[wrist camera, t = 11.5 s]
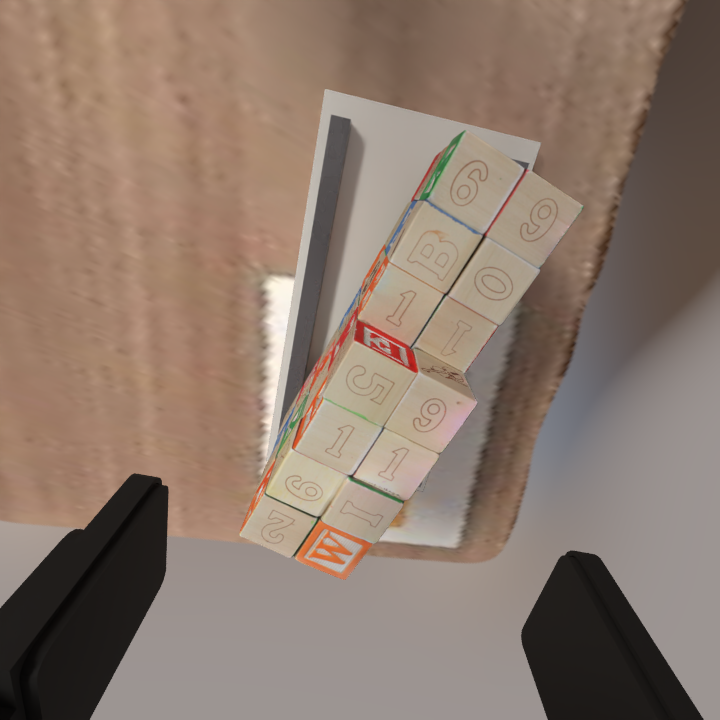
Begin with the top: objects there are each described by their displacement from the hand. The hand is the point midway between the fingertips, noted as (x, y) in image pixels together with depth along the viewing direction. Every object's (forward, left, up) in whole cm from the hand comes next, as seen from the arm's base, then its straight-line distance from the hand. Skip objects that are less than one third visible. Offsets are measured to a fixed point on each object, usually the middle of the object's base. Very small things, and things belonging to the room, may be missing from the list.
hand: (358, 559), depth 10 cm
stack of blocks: (0, +2, -21) cm, 21 cm away
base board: (+1, +1, -24) cm, 24 cm away
